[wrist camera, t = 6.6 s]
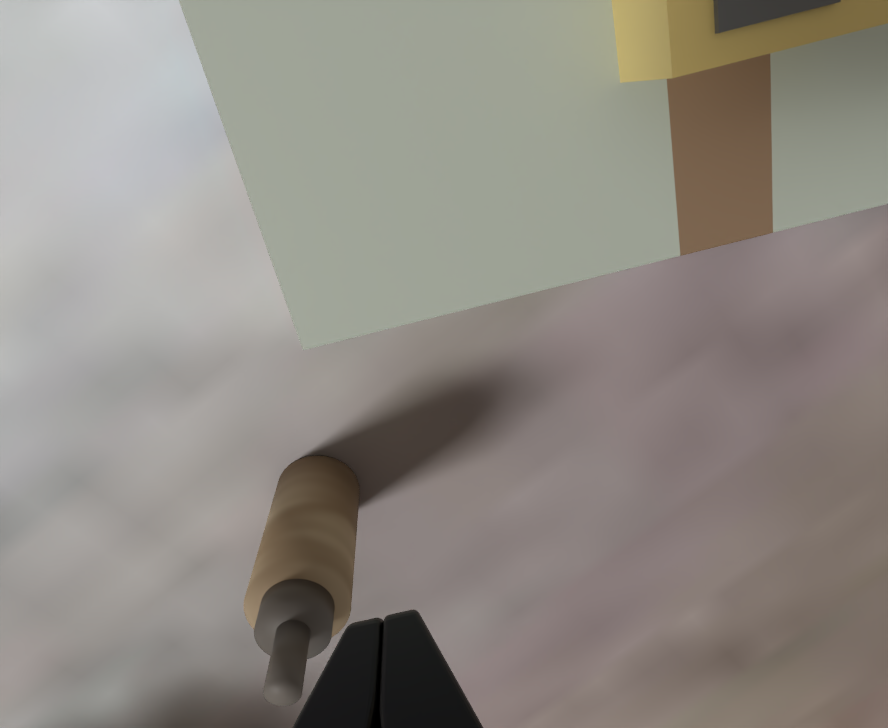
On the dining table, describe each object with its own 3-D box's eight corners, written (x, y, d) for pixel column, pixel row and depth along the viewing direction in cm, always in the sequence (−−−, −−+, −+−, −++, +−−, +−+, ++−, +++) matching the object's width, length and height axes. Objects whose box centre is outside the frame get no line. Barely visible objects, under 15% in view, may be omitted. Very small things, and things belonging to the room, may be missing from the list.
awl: (352, 450, 19) (333, 638, 13) (365, 517, 20) (353, 725, 14) (269, 461, 19) (204, 657, 12) (286, 528, 20) (235, 743, 13)
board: (949, -213, 14) (981, -230, 13) (918, 186, 18) (941, 190, 17) (182, -13, 14) (172, -20, 13) (306, 340, 18) (302, 350, 17)
